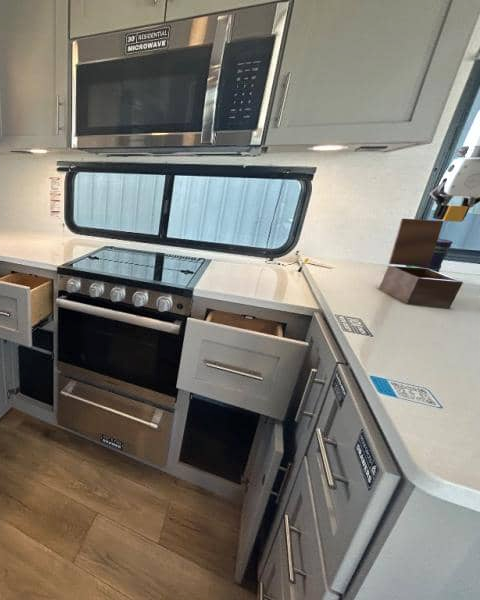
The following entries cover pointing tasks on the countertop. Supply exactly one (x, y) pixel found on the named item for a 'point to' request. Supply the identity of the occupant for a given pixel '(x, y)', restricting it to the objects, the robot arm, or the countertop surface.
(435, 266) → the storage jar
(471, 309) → the countertop surface
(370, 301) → the countertop surface
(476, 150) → the robot arm
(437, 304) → the chest
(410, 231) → the lid
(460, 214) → the block
